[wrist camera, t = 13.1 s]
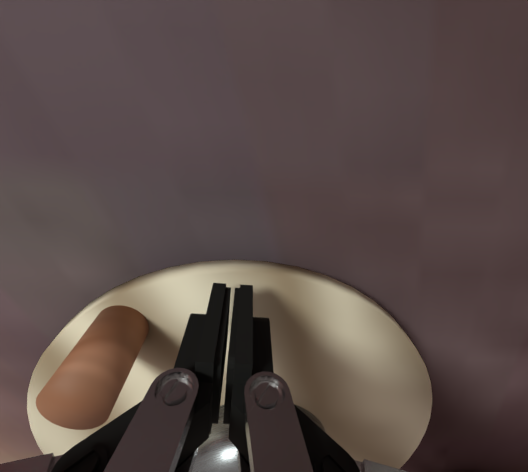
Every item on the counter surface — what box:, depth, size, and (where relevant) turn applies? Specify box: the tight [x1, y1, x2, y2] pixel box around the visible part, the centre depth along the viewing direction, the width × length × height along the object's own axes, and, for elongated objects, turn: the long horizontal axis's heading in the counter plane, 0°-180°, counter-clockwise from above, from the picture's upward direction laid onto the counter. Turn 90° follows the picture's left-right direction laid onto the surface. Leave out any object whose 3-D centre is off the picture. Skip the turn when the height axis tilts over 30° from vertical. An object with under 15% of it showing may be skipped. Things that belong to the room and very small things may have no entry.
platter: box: [27, 260, 432, 469], centre depth 16 cm, size 24×24×5 cm
